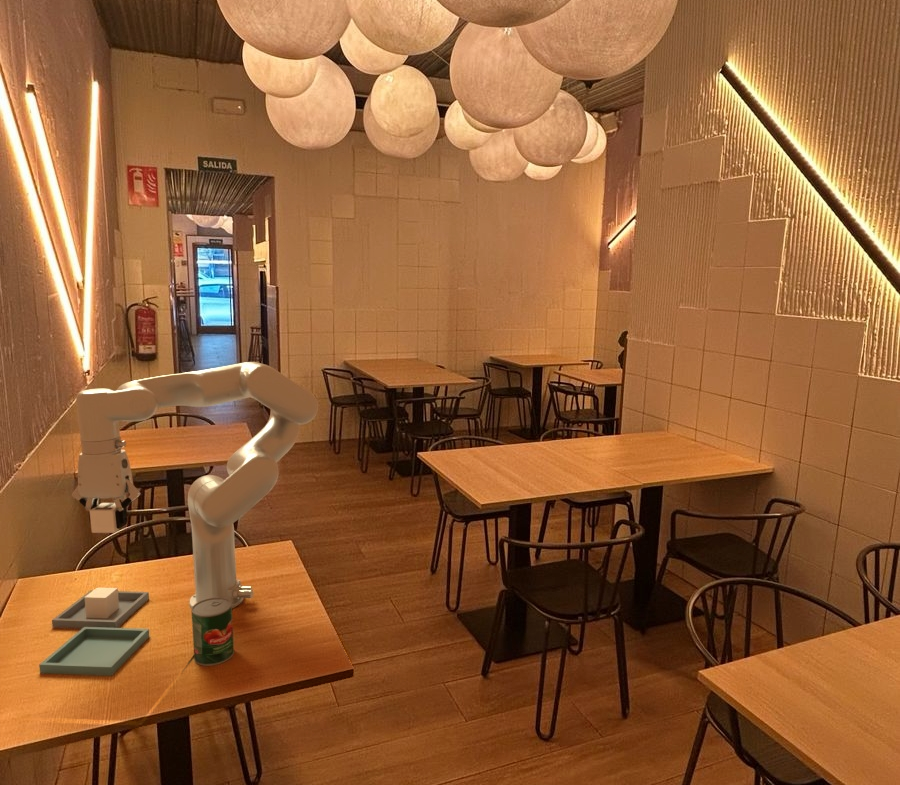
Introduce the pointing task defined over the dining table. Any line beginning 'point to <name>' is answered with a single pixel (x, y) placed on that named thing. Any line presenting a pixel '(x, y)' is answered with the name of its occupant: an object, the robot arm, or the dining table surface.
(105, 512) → the letter cube
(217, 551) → the robot arm
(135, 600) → the charcoal tray
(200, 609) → the canned tomato
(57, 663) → the teal tray
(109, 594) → the blank cube
